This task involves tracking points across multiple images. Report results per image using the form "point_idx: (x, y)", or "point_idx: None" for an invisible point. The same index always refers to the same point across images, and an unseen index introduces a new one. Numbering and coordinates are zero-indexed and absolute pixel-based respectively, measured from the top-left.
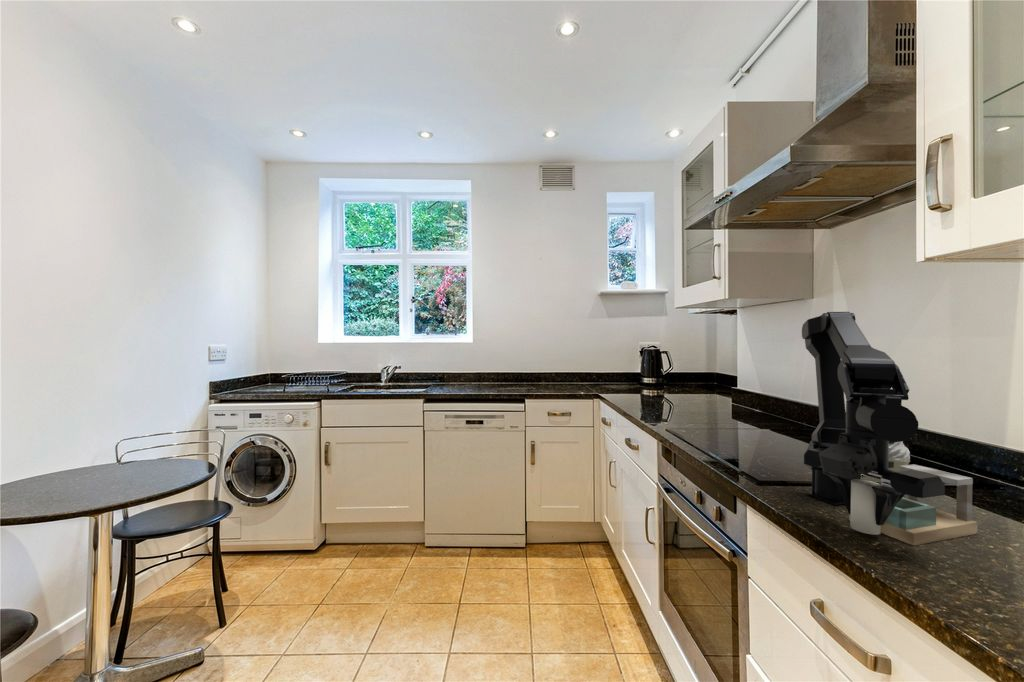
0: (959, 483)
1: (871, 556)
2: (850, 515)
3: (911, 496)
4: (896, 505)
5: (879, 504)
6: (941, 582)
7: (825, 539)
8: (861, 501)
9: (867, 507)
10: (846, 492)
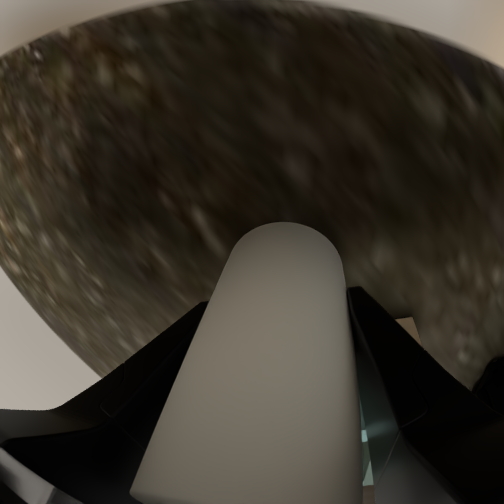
0: None
1: (100, 113)
2: (412, 333)
3: (368, 490)
4: None
5: (127, 379)
6: (14, 198)
7: (249, 22)
8: (209, 349)
9: (197, 336)
10: (381, 384)
